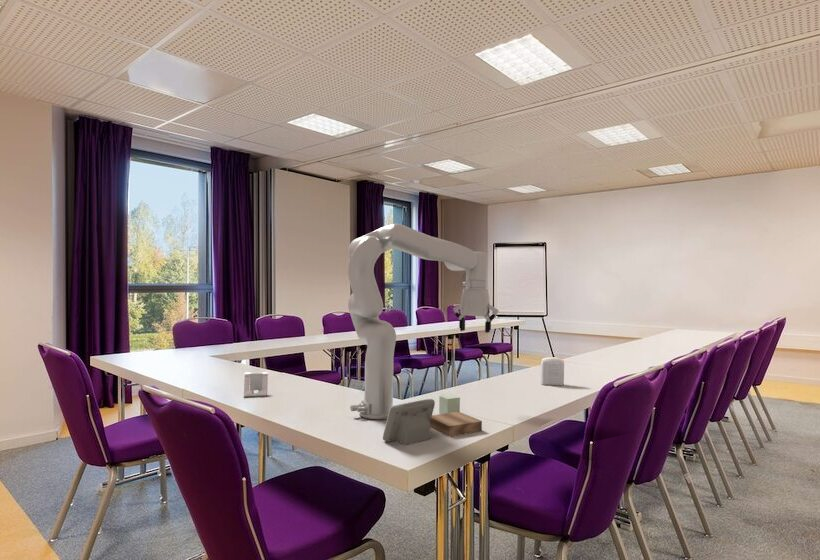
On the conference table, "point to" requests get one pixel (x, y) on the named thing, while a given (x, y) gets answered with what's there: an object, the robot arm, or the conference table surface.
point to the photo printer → (552, 371)
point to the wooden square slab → (455, 423)
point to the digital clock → (409, 422)
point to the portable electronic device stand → (256, 384)
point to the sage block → (449, 404)
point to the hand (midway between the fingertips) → (474, 331)
